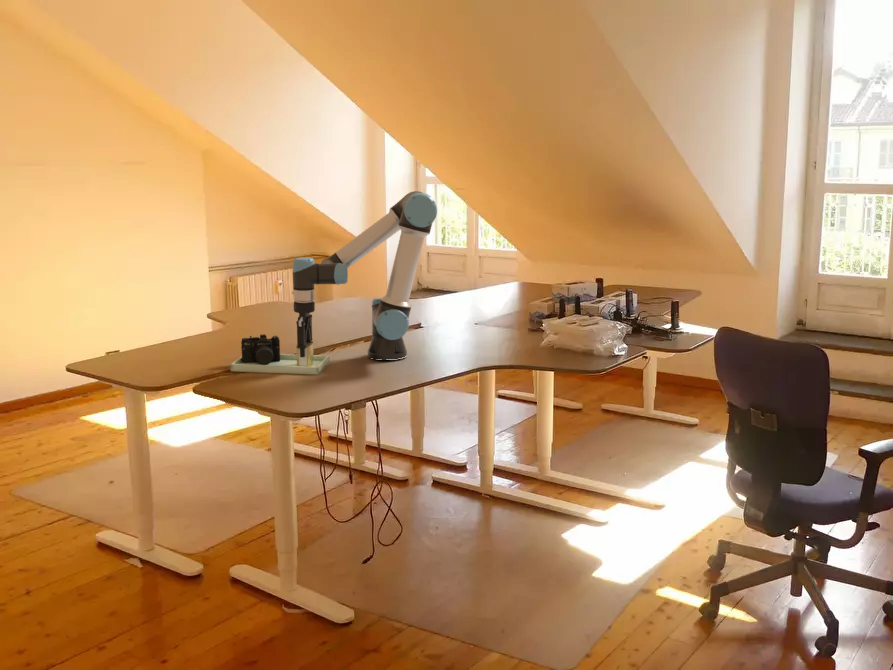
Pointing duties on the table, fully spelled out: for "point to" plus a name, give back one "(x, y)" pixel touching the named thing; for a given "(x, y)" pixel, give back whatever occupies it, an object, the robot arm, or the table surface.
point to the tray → (282, 365)
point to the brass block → (309, 355)
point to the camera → (260, 349)
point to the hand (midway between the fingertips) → (305, 363)
